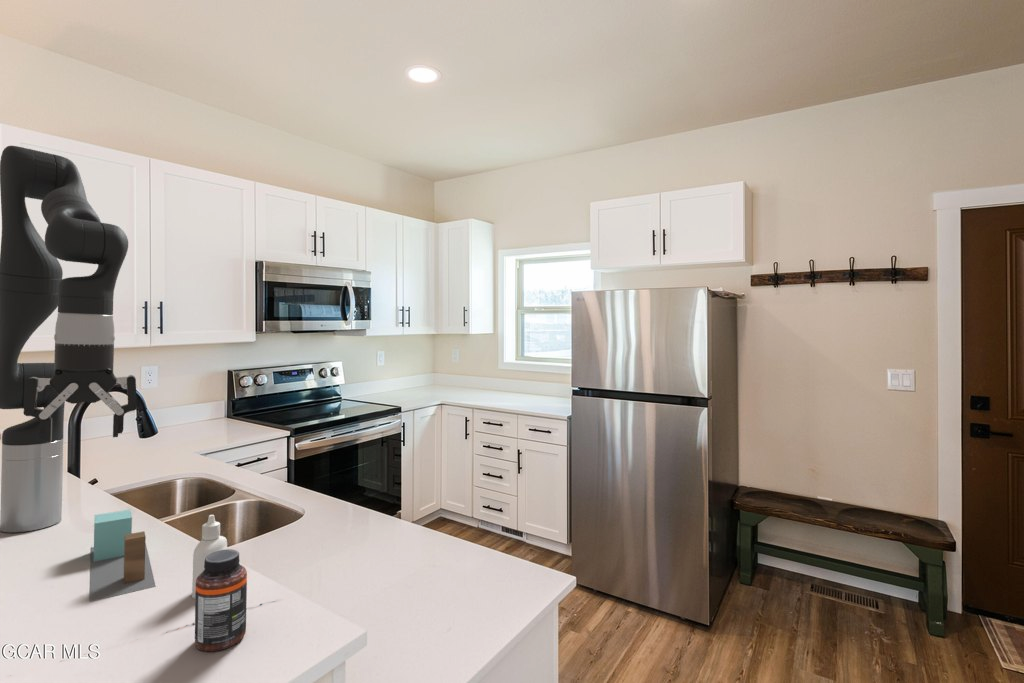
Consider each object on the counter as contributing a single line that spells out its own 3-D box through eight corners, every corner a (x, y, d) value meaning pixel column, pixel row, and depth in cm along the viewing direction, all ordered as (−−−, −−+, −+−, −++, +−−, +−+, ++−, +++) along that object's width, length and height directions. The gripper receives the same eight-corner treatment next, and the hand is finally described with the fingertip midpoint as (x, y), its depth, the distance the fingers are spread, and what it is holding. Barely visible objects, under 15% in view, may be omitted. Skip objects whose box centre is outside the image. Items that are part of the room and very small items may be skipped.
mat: (90, 549, 94) (90, 547, 94) (144, 539, 99) (144, 537, 99) (89, 604, 75) (89, 601, 75) (155, 588, 80) (155, 586, 80)
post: (123, 577, 83) (124, 534, 83) (143, 573, 84) (144, 531, 84) (124, 584, 81) (125, 539, 81) (144, 579, 82) (145, 536, 82)
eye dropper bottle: (235, 588, 81) (237, 513, 81) (198, 604, 76) (200, 523, 76) (220, 581, 83) (221, 507, 83) (183, 595, 78) (185, 517, 78)
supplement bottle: (208, 627, 70) (210, 545, 70) (253, 626, 71) (255, 545, 71) (184, 654, 64) (186, 564, 64) (233, 653, 65) (235, 564, 65)
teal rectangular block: (93, 551, 92) (94, 515, 92) (129, 544, 95) (130, 509, 95) (93, 561, 88) (94, 523, 88) (131, 554, 91) (131, 517, 91)
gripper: (137, 341, 92) (135, 431, 92) (29, 339, 83) (26, 438, 83) (139, 343, 86) (136, 439, 86) (22, 341, 77) (20, 448, 77)
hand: (82, 439), depth 85 cm, fingers open, 8 cm apart
